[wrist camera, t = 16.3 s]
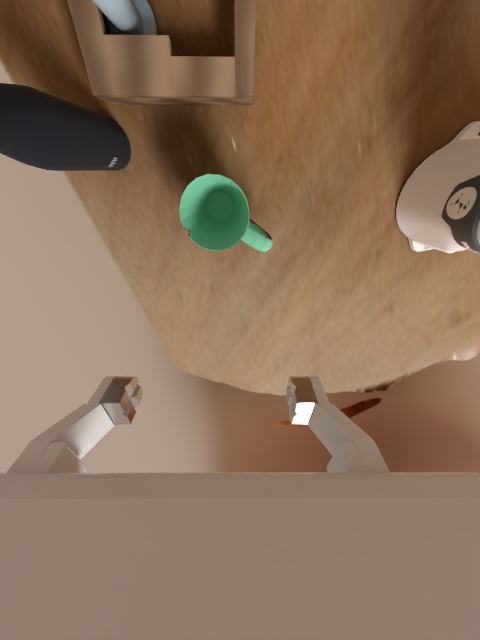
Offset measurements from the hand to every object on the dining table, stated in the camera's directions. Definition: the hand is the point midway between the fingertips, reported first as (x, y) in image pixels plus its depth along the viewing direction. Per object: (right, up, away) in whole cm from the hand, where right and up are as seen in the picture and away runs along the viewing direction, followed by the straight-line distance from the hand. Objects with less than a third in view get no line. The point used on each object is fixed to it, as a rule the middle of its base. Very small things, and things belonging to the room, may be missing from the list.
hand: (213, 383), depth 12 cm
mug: (0, +23, +27) cm, 35 cm away
